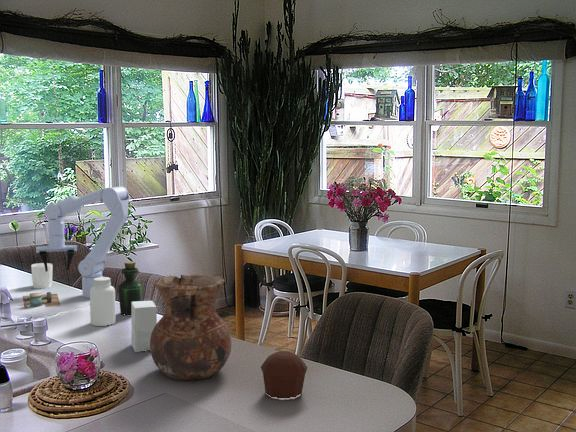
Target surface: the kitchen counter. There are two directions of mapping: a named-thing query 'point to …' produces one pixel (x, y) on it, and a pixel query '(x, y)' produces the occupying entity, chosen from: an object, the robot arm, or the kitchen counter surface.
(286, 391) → the muffin
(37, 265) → the white cup
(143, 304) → the small box
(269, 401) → the kitchen counter surface
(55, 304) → the hook board
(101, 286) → the pill bottle
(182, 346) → the jug
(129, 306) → the potion bottle
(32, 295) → the spool
